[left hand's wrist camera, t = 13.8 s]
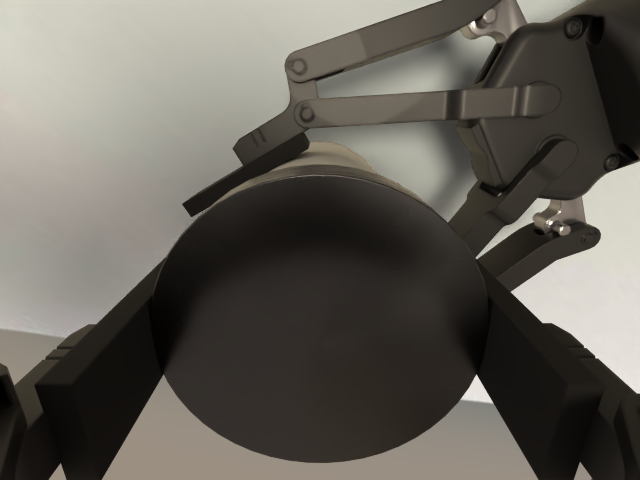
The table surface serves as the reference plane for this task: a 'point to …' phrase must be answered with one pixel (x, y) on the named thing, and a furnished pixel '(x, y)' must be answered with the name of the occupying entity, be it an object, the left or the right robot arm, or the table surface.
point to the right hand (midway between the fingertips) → (247, 276)
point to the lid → (320, 315)
